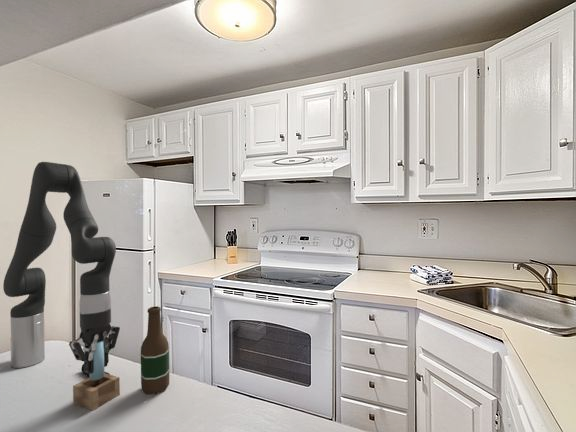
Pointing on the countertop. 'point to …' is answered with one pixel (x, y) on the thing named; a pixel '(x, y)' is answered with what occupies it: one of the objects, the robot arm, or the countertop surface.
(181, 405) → the countertop surface
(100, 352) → the peg
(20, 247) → the robot arm
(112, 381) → the socket block
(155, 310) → the beer bottle
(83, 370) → the electric trimmer
